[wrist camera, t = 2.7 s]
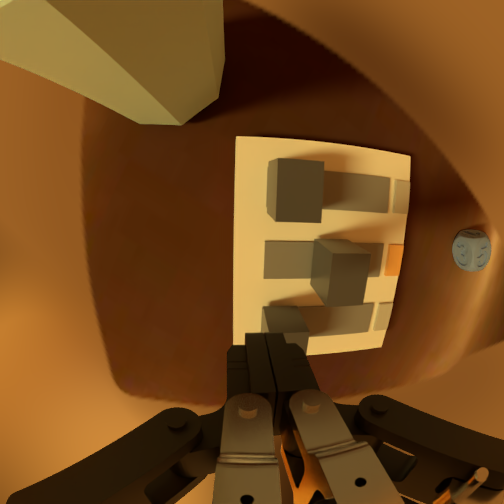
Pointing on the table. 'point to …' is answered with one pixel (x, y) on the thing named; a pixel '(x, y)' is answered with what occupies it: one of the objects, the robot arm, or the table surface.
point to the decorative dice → (471, 250)
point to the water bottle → (122, 52)
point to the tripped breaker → (339, 272)
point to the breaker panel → (331, 227)
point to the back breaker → (286, 324)
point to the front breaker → (295, 190)
